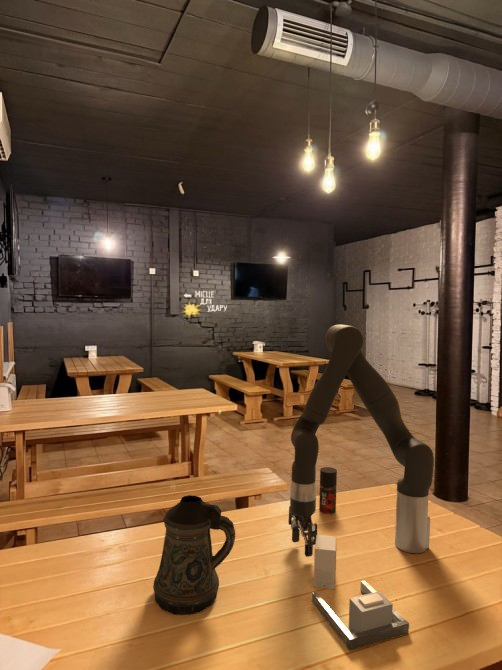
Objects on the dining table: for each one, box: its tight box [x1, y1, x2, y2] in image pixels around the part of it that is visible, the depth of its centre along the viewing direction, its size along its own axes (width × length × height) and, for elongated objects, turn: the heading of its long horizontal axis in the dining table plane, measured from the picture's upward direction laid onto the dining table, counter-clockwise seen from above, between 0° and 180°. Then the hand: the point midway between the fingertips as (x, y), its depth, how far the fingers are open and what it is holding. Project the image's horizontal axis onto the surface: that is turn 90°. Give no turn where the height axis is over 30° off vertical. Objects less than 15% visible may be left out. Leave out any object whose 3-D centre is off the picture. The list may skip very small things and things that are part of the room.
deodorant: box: [318, 466, 338, 515], centre depth 165 cm, size 6×6×15 cm
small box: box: [313, 534, 337, 590], centre depth 123 cm, size 8×6×10 cm
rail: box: [311, 580, 410, 652], centre depth 108 cm, size 15×17×2 cm
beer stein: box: [152, 495, 236, 616], centre depth 116 cm, size 16×19×25 cm
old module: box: [348, 590, 394, 634], centre depth 104 cm, size 8×5×8 cm, turn 110°
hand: (301, 548), depth 136 cm, fingers open, 8 cm apart
